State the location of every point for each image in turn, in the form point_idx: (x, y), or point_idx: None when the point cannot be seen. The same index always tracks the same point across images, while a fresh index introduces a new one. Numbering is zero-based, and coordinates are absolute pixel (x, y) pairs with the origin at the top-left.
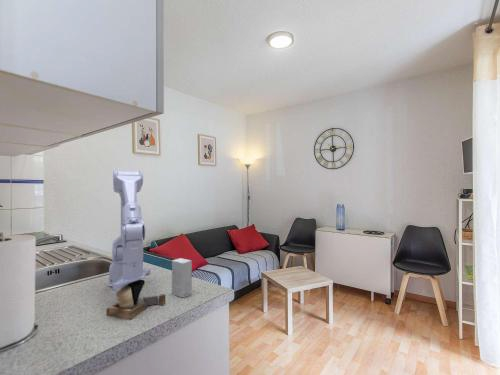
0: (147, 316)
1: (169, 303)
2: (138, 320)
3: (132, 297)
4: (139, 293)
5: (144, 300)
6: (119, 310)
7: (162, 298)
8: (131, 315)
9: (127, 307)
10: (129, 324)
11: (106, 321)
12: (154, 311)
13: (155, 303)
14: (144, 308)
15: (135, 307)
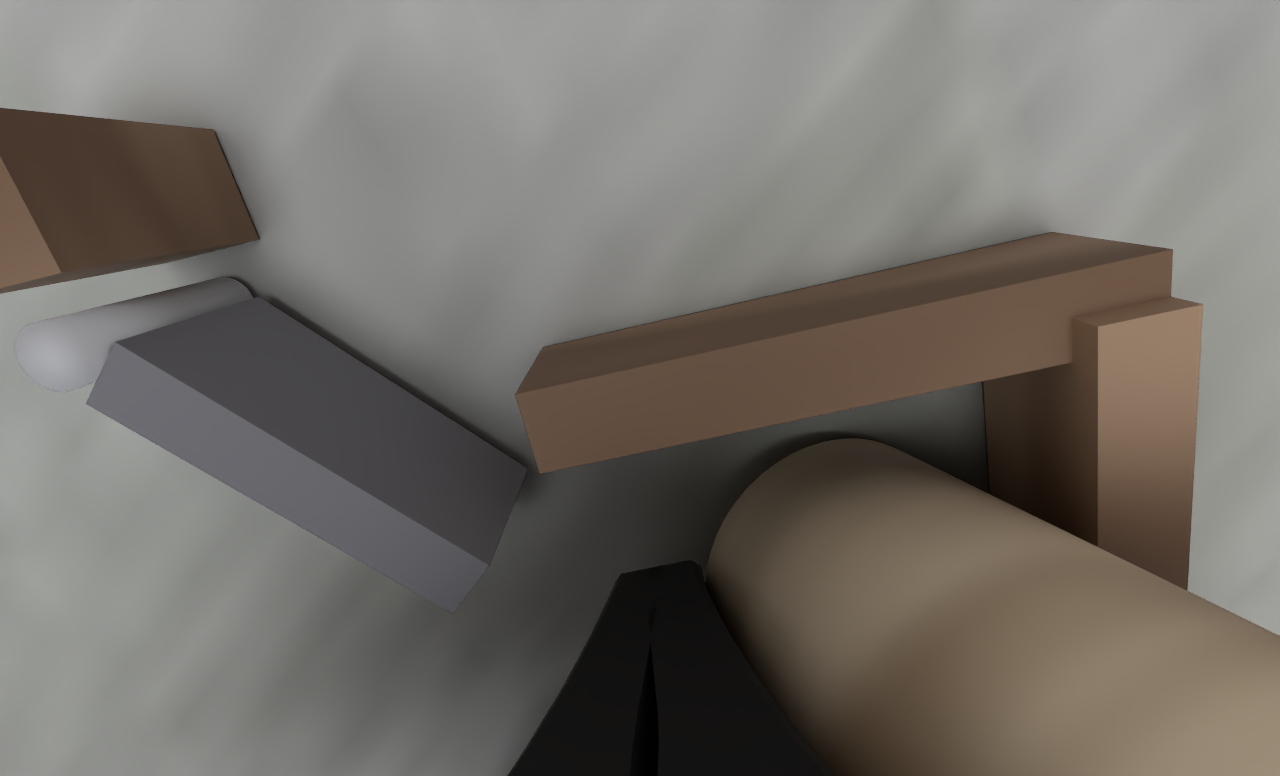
0: (785, 5)
1: (28, 75)
2: (1017, 37)
3: (961, 679)
4: (539, 758)
5: (476, 515)
6: (1172, 564)
7: (64, 129)
8: (1072, 245)
9: (1025, 515)
10: (1231, 67)
11: (1232, 558)
12: (525, 66)
13: (291, 328)
14: (598, 344)
15: (879, 386)
